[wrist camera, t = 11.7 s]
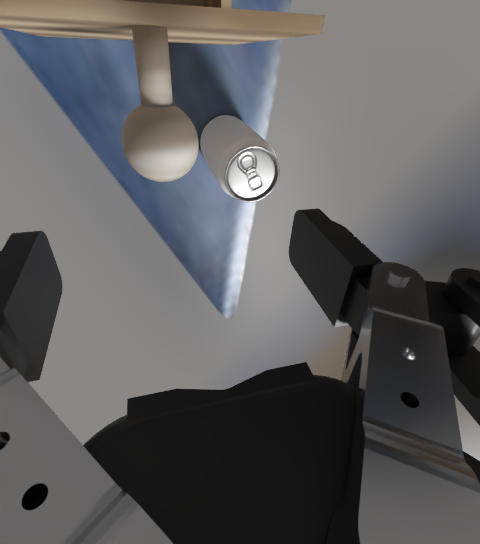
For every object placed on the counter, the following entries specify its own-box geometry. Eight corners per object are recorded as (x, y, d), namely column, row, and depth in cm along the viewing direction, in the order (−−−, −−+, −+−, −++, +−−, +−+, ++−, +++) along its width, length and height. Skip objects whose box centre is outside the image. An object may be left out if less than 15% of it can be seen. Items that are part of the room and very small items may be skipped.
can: (237, 104, 38) (271, 128, 29) (256, 152, 43) (291, 187, 33) (190, 129, 39) (209, 161, 30) (213, 175, 43) (236, 216, 34)
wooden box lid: (-92, -18, 10) (-3, 202, 13) (328, 14, 13) (304, 183, 17) (38, 25, 23) (64, 130, 26) (230, 35, 26) (229, 128, 30)
